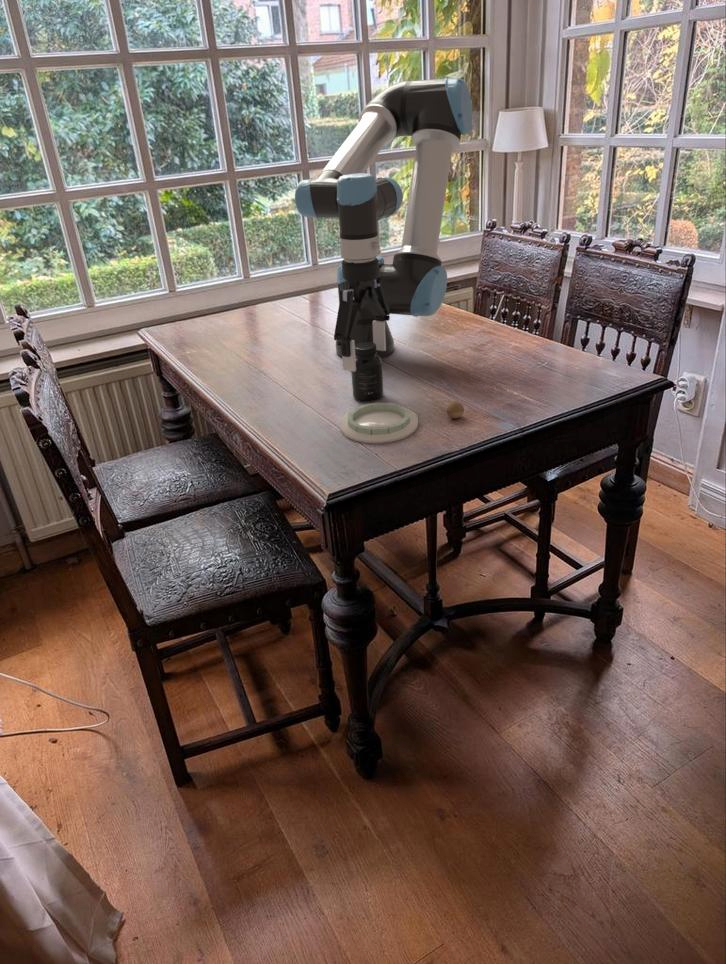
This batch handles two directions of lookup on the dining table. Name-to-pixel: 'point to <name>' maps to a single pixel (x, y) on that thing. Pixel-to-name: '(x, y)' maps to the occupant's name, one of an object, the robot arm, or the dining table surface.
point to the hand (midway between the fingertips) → (365, 359)
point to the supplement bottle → (367, 373)
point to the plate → (378, 423)
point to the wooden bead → (455, 410)
